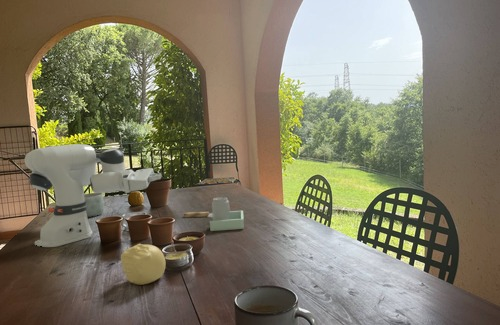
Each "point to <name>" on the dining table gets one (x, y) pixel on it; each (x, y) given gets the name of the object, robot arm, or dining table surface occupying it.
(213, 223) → the frame
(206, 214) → the scraper
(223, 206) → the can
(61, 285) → the dining table surface
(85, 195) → the planter
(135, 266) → the pomelo
